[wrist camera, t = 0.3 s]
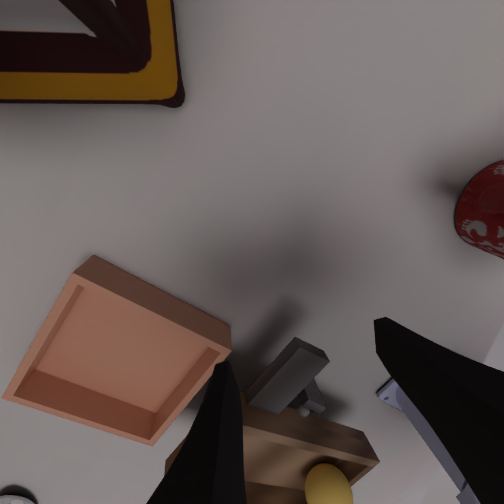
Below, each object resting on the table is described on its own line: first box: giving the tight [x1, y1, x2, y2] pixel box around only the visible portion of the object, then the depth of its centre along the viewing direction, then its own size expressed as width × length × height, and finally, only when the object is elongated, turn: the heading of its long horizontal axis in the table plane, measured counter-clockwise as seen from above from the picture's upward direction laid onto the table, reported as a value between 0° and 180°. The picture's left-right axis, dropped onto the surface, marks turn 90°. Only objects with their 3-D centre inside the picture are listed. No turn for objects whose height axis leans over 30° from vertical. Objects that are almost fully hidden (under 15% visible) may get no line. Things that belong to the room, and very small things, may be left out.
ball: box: [305, 463, 353, 504], centre depth 23 cm, size 4×4×4 cm
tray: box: [1, 255, 232, 446], centre depth 21 cm, size 12×12×3 cm
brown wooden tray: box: [164, 337, 380, 504], centre depth 22 cm, size 16×16×3 cm
